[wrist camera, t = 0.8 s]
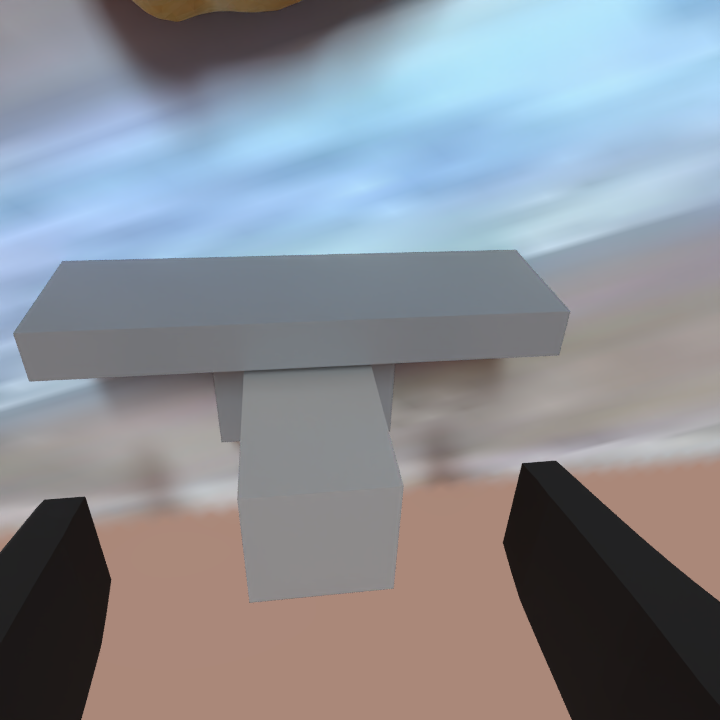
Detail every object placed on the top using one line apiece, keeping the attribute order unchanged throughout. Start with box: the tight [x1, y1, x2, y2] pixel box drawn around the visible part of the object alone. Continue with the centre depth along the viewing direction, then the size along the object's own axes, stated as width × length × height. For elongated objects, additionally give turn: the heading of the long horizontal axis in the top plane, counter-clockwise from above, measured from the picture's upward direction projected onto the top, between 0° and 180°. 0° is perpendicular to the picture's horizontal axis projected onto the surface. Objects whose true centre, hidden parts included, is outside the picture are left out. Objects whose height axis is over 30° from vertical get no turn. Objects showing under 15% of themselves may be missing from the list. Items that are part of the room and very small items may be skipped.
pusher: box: [13, 250, 570, 603], centre depth 12 cm, size 10×4×6 cm, turn 88°
